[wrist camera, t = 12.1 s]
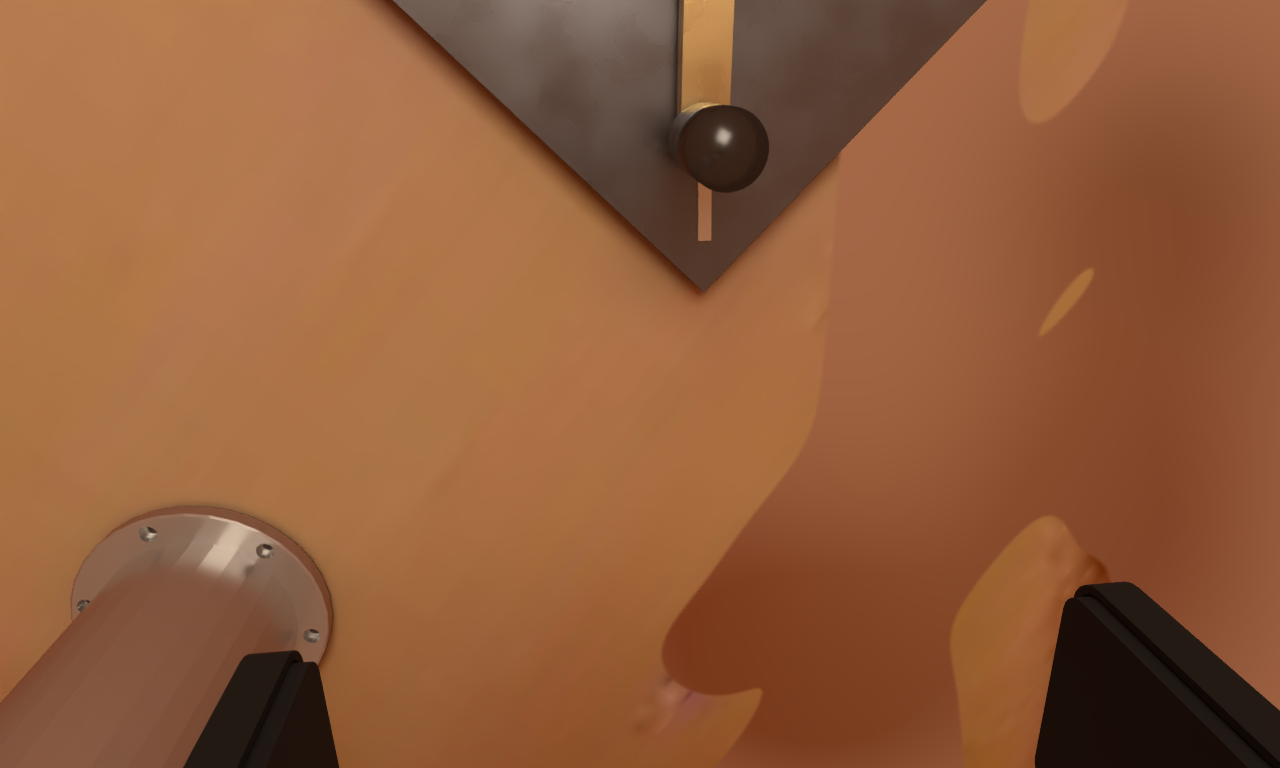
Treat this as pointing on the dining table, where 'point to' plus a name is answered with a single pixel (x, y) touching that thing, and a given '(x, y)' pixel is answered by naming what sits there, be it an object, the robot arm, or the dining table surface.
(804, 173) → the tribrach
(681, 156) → the crank dial
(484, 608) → the dining table surface
